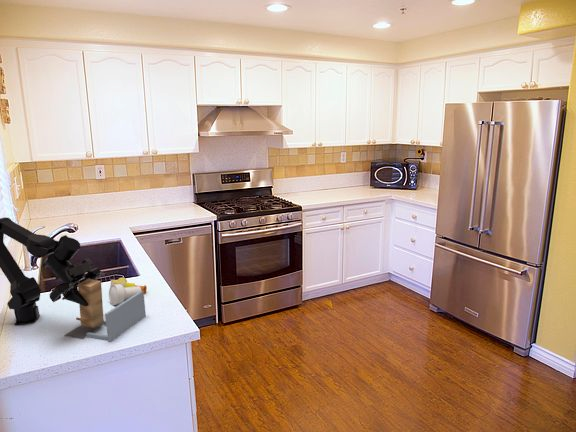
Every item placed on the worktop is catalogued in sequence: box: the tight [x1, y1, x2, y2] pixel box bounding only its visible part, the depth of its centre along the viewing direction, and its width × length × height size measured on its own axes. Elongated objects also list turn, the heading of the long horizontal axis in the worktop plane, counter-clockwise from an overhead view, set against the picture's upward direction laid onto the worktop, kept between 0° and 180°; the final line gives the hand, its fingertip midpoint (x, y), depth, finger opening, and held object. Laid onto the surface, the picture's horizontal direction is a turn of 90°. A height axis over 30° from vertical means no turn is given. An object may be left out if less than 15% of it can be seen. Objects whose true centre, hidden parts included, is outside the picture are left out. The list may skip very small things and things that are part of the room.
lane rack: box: [86, 291, 147, 343], centre depth 144 cm, size 10×19×10 cm, turn 164°
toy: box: [110, 277, 147, 295], centre depth 176 cm, size 5×15×10 cm
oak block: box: [75, 279, 105, 328], centre depth 141 cm, size 9×5×15 cm, turn 74°
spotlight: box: [108, 284, 141, 306], centre depth 165 cm, size 8×11×8 cm
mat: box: [64, 320, 106, 340], centre depth 144 cm, size 8×12×1 cm, turn 164°
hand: (93, 302), depth 140 cm, fingers closed on oak block, 5 cm apart
